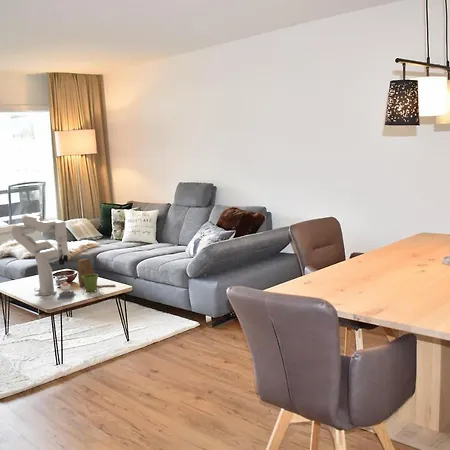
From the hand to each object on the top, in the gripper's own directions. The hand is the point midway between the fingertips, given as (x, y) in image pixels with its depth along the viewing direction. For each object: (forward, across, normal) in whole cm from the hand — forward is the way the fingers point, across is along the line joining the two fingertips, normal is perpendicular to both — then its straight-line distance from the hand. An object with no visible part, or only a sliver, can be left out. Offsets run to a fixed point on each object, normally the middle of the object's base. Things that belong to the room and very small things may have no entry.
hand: (63, 263), depth 378 cm
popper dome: (+22, 0, 0) cm, 22 cm away
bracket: (+24, +23, -23) cm, 40 cm away
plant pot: (+25, +13, -14) cm, 31 cm away
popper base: (+24, 0, 0) cm, 24 cm away
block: (+24, +32, -7) cm, 41 cm away
